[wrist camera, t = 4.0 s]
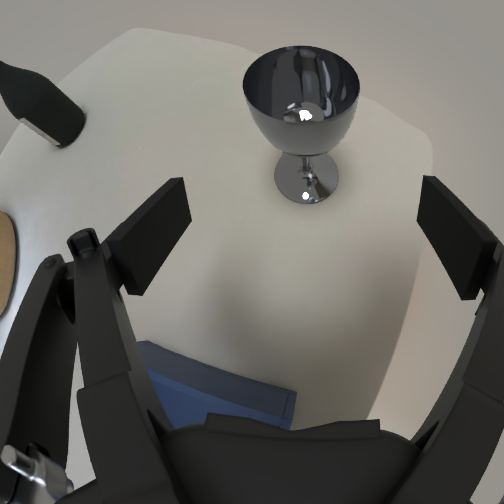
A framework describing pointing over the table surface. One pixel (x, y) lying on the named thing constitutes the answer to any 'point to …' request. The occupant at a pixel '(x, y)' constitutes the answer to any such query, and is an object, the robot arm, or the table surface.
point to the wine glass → (303, 115)
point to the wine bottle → (40, 105)
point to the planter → (6, 259)
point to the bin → (211, 391)
